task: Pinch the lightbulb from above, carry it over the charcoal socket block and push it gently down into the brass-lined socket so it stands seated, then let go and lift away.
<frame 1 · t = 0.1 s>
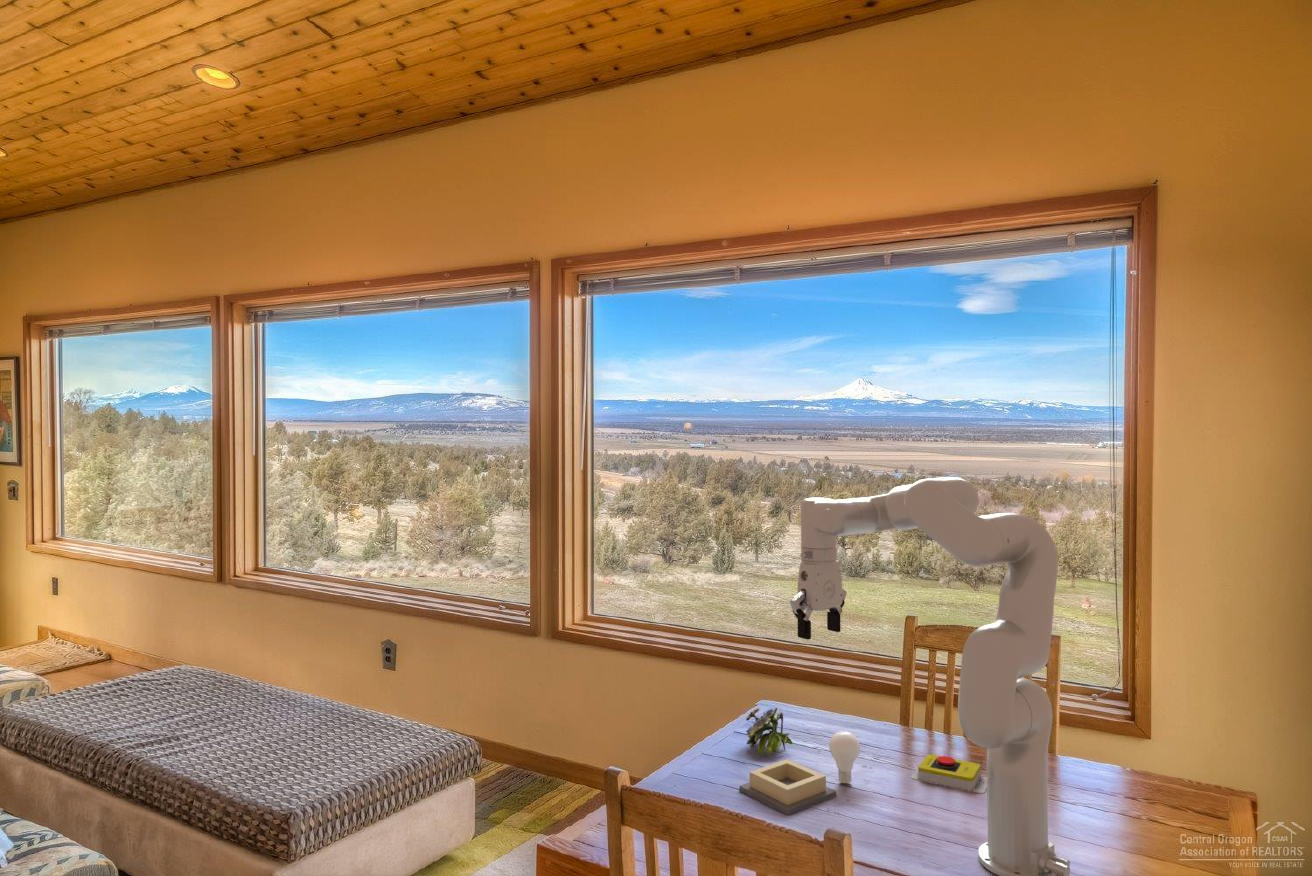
hand: (819, 634, 178), 31 cm above the table, tool pointing down, fingers open, 9 cm apart
lightbulb: (844, 784, 175), on the table
passion flower: (769, 750, 195), on the table
emergency button: (951, 781, 177), on the table
socket block: (787, 793, 170), on the table
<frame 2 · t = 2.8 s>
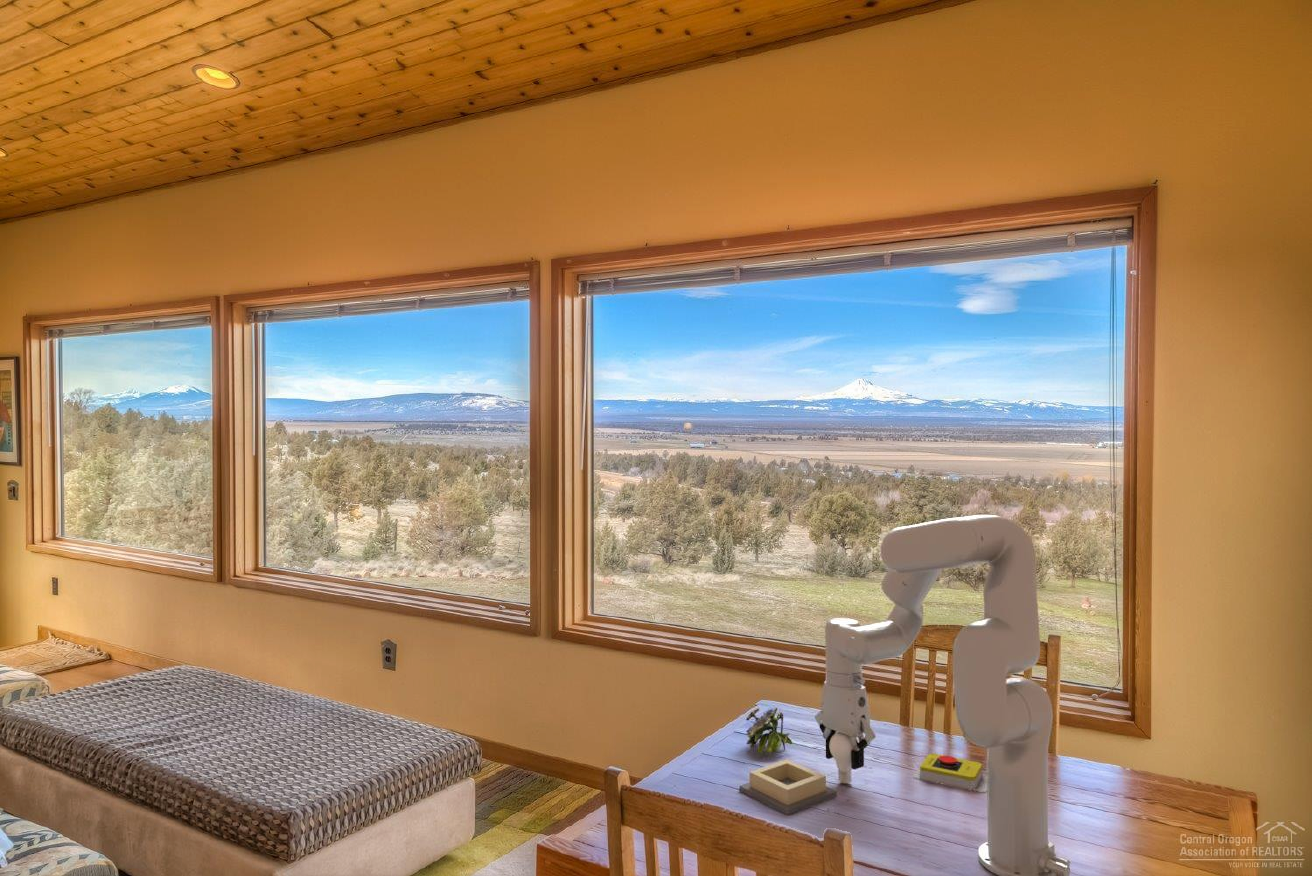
hand: (844, 761, 175), 5 cm above the table, tool pointing down, fingers closed on lightbulb, 6 cm apart
lightbulb: (844, 784, 175), on the table, touching gripper
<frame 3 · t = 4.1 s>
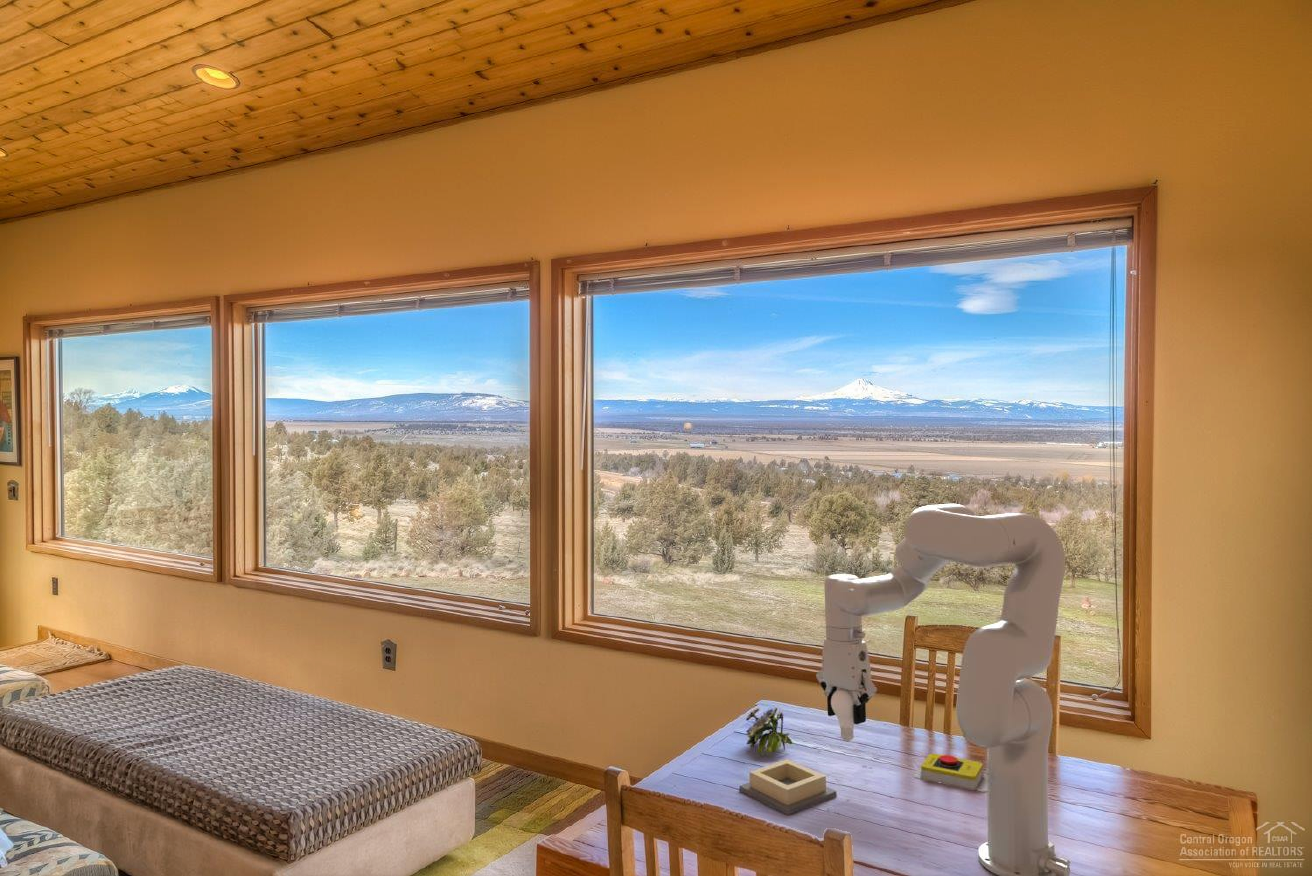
hand: (846, 718, 174), 14 cm above the table, tool pointing down, fingers closed on lightbulb, 6 cm apart
lightbulb: (847, 741, 174), point 9 cm above the table, touching gripper
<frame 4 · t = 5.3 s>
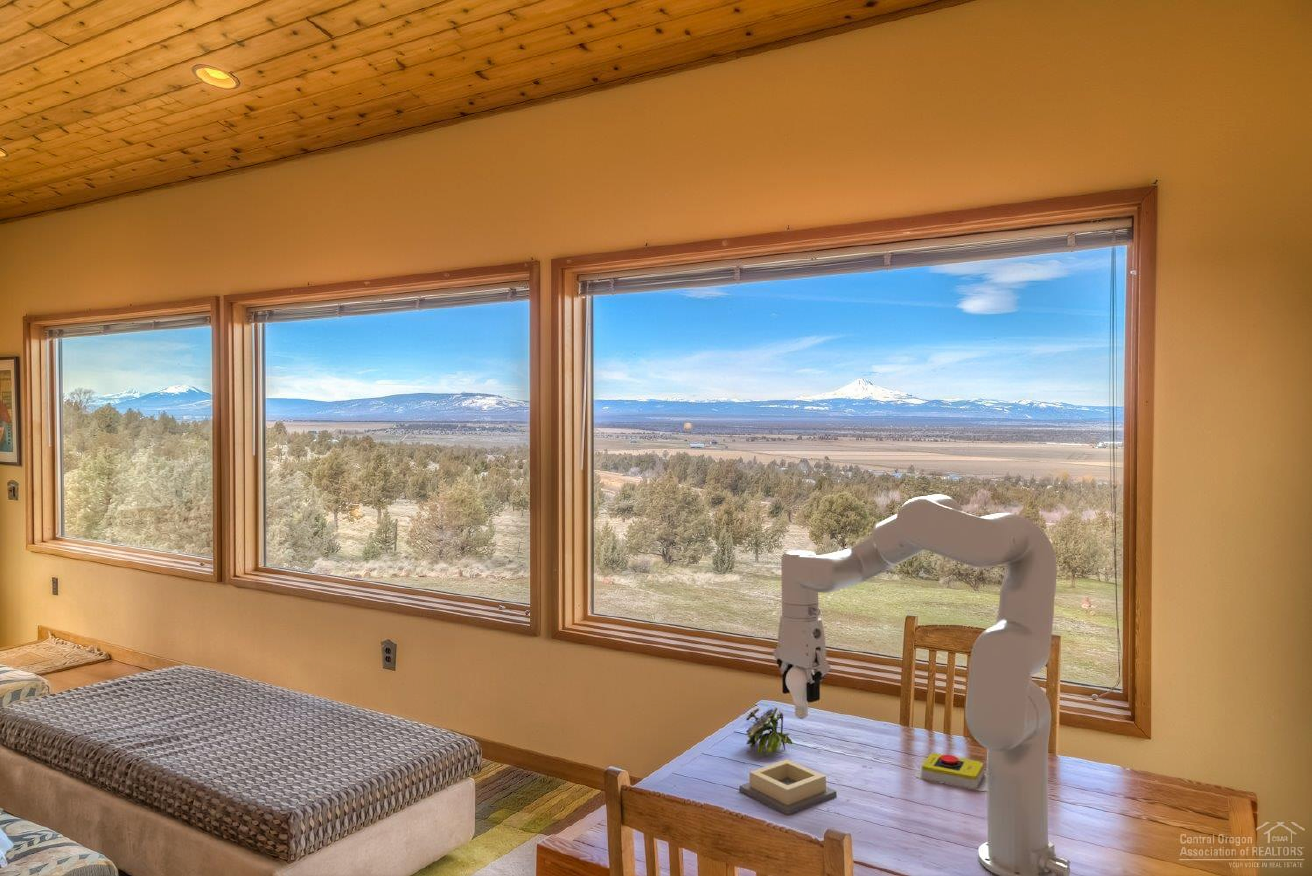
hand: (800, 696, 172), 20 cm above the table, tool pointing down, fingers closed on lightbulb, 6 cm apart
lightbulb: (801, 719, 172), point 15 cm above the table, touching gripper
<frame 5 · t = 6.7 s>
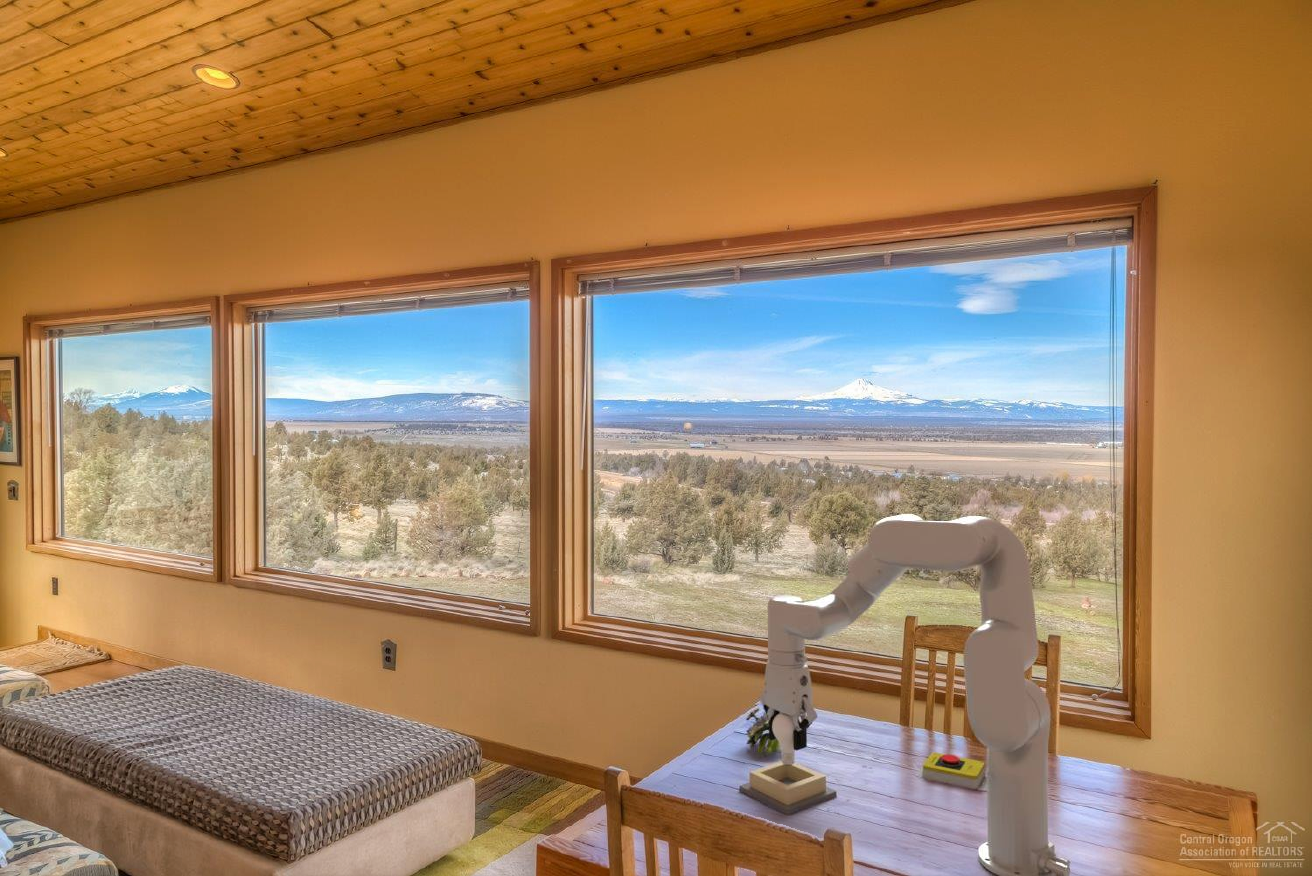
hand: (787, 742, 170), 11 cm above the table, tool pointing down, fingers closed on lightbulb, 6 cm apart
lightbulb: (788, 766, 170), point 6 cm above the table, touching gripper
when the fingers open (6 cm above the table, at t = 8.1 s): lightbulb stays where it is, resting on socket block.
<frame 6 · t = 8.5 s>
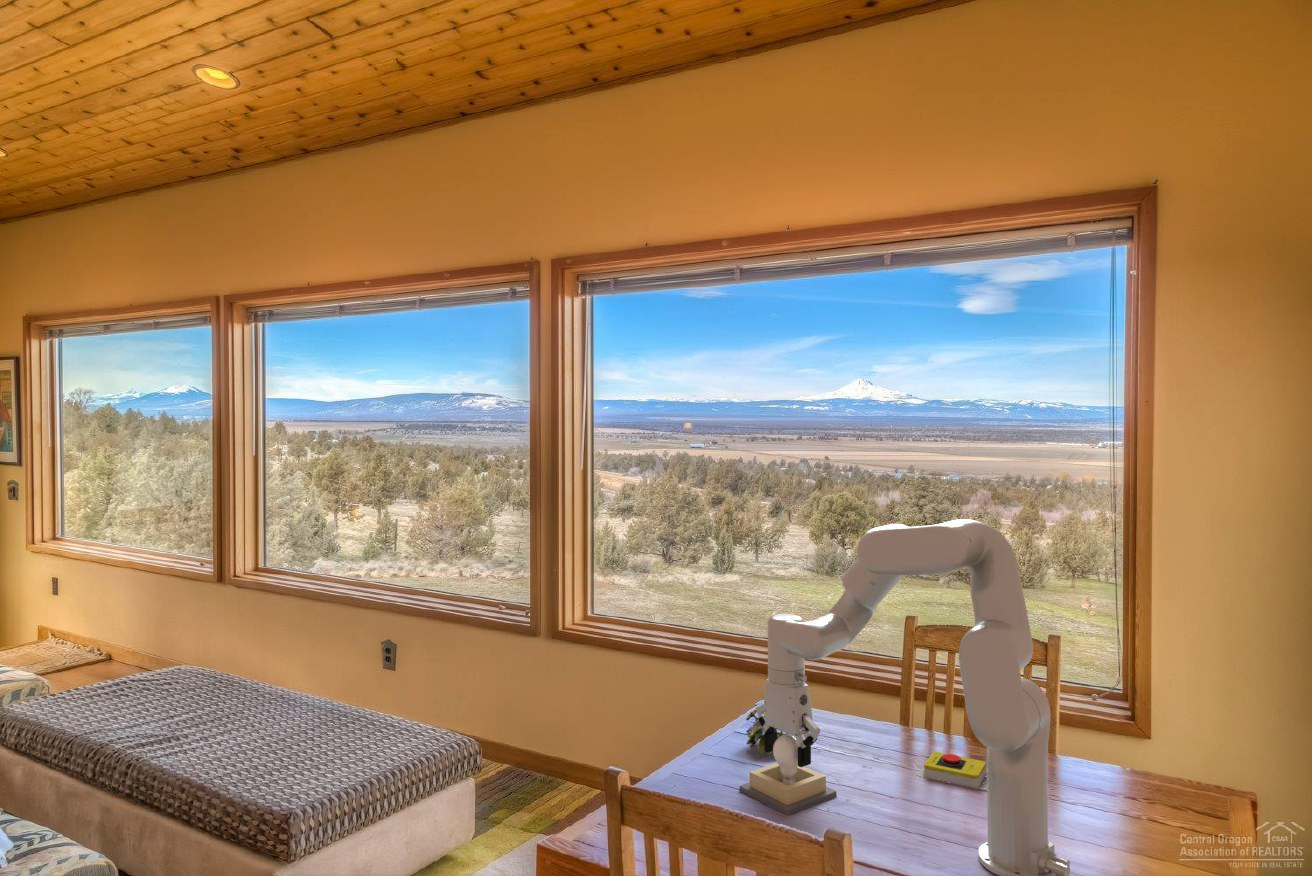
hand: (787, 758, 170), 7 cm above the table, tool pointing down, fingers open, 9 cm apart
lightbulb: (788, 789, 170), point 1 cm above the table, touching socket block
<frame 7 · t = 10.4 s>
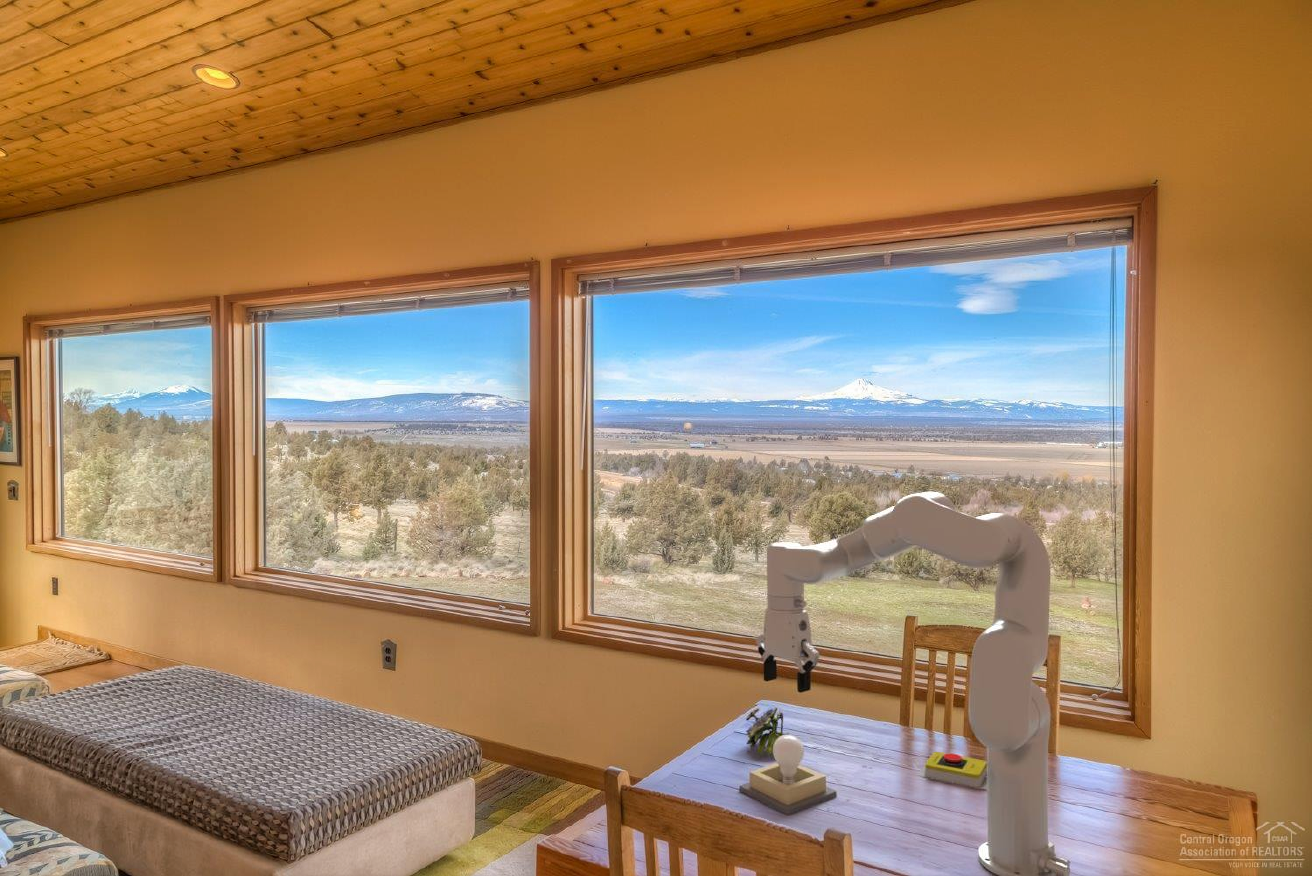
hand: (786, 685, 170), 22 cm above the table, tool pointing down, fingers open, 9 cm apart
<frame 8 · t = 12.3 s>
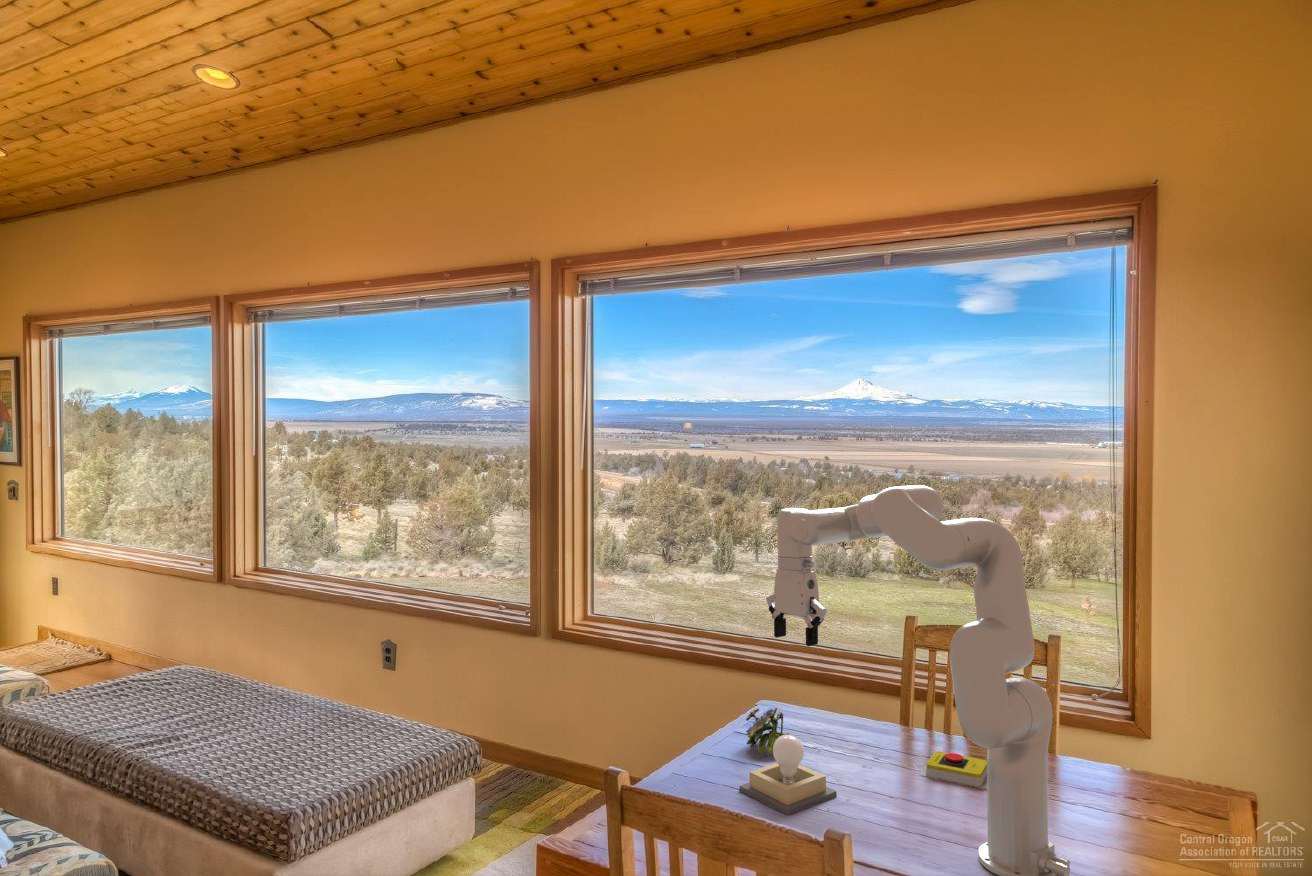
hand: (795, 640, 183), 28 cm above the table, tool pointing down, fingers open, 9 cm apart
at the end: lightbulb 0.2 cm off-centre on the socket block, point 0.8 cm above the socket block's base; lightbulb tilted 0°; the gripper is holding nothing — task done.
